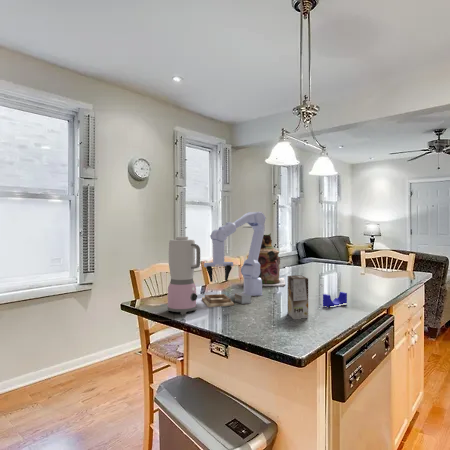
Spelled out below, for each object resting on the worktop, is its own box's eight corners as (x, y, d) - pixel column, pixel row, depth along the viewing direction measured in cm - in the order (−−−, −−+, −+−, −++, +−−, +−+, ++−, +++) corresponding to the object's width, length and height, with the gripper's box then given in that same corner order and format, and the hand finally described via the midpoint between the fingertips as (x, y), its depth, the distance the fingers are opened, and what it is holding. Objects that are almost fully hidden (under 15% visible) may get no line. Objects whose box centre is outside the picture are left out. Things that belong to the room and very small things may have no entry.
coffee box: (309, 319, 134) (309, 278, 134) (293, 319, 133) (293, 278, 133) (301, 313, 143) (301, 275, 143) (286, 313, 142) (286, 275, 142)
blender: (161, 312, 144) (161, 237, 144) (179, 306, 155) (179, 236, 155) (190, 317, 136) (190, 237, 136) (208, 311, 146) (208, 236, 146)
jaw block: (243, 300, 168) (243, 292, 168) (250, 303, 161) (250, 295, 161) (234, 301, 165) (234, 293, 165) (241, 304, 159) (241, 296, 159)
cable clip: (339, 304, 160) (339, 291, 160) (346, 306, 156) (346, 293, 156) (320, 306, 155) (320, 293, 155) (327, 309, 151) (327, 295, 151)
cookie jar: (247, 280, 230) (247, 232, 230) (284, 280, 226) (284, 232, 227) (244, 286, 205) (244, 233, 206) (285, 287, 202) (285, 233, 202)
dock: (225, 298, 172) (225, 293, 172) (234, 305, 156) (234, 299, 156) (202, 299, 169) (202, 294, 169) (208, 307, 153) (208, 301, 153)
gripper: (230, 252, 174) (230, 279, 174) (202, 253, 170) (202, 280, 170) (234, 253, 167) (234, 281, 167) (205, 254, 164) (205, 282, 164)
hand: (218, 281), depth 169 cm, fingers open, 7 cm apart
